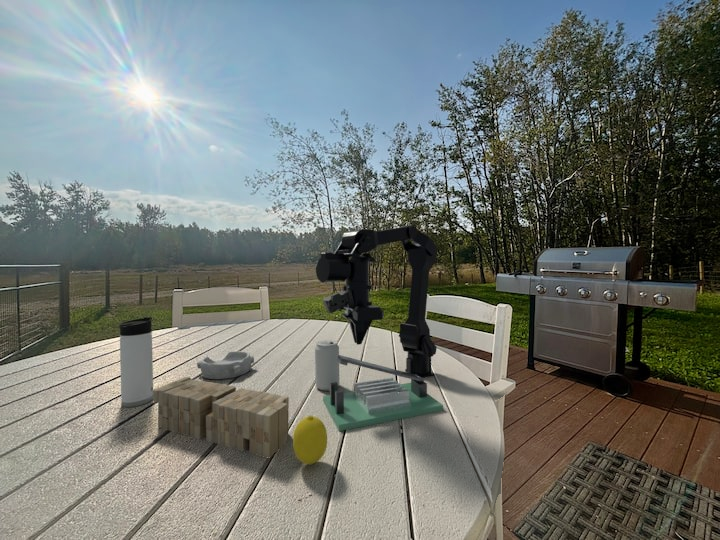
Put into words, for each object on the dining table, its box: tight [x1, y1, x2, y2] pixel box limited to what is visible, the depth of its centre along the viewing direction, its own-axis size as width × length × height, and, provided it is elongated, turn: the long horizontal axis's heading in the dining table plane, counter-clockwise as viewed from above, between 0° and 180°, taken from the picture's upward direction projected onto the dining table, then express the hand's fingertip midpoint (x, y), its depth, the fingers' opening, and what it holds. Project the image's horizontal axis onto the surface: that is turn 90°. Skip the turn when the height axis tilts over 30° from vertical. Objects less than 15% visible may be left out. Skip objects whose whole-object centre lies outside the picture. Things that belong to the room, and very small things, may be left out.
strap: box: [337, 354, 425, 383], centre depth 70 cm, size 22×3×1 cm, turn 109°
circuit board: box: [322, 382, 444, 432], centre depth 70 cm, size 24×14×1 cm, turn 110°
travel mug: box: [119, 316, 154, 408], centre depth 74 cm, size 6×7×20 cm
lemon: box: [292, 414, 328, 466], centre depth 50 cm, size 6×6×8 cm
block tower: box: [152, 376, 290, 458], centre depth 60 cm, size 8×8×29 cm
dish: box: [196, 350, 255, 380], centre depth 94 cm, size 14×14×5 cm
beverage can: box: [314, 339, 341, 392], centre depth 81 cm, size 6×6×12 cm
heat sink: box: [329, 376, 428, 414], centre depth 70 cm, size 22×10×5 cm, turn 110°
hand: (357, 343), depth 76 cm, fingers closed
